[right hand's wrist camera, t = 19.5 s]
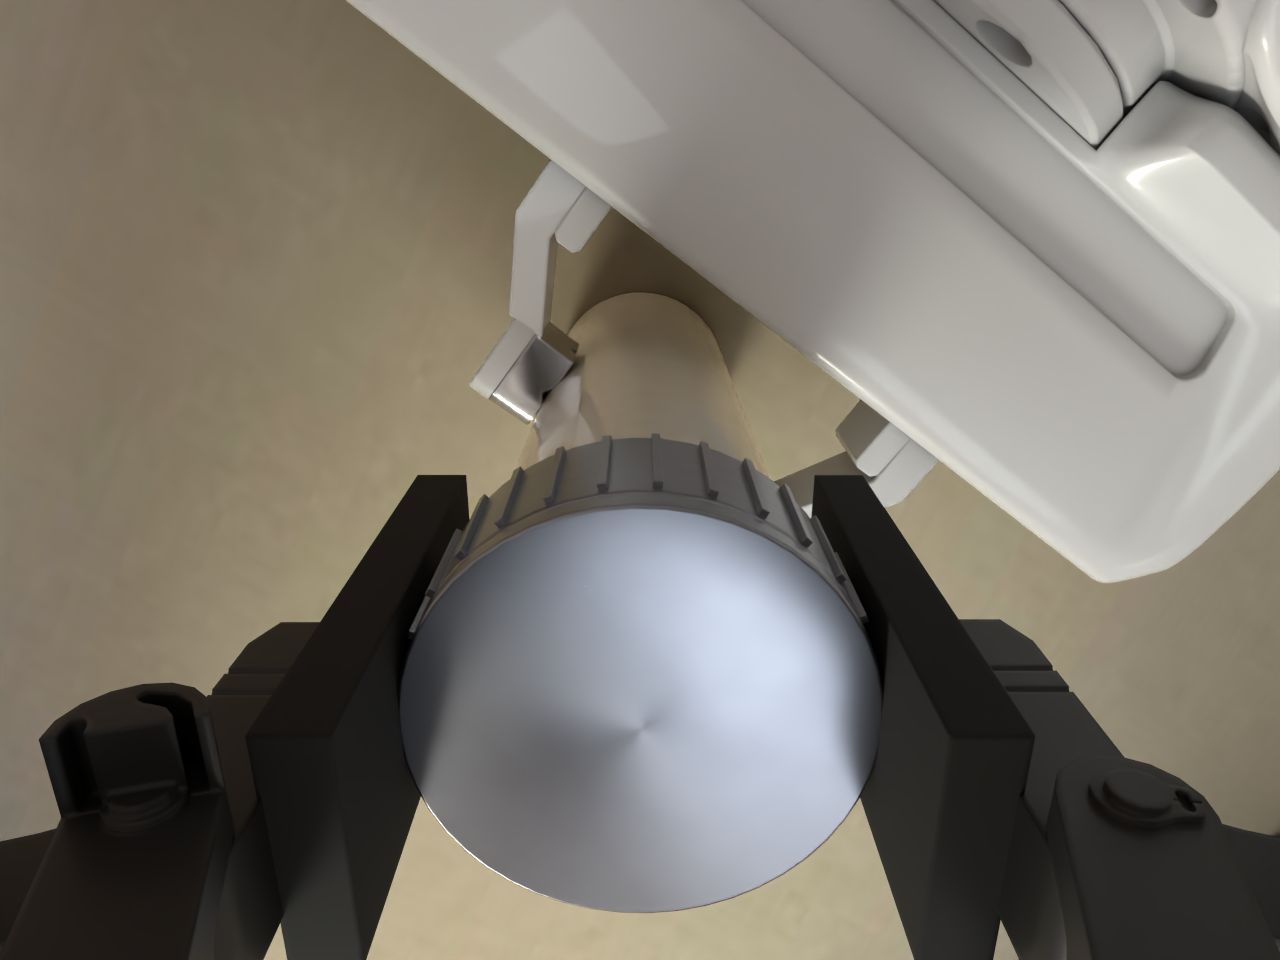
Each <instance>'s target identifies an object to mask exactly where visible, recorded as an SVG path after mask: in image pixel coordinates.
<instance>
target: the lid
mask: <svg viewBox="0 0 1280 960" xmlns="http://www.w3.org/2000/svg"><path fill="white" fill-rule="evenodd" d="M867 622H869V619H868V617H867V614H866V612H865V610H864V608H863V606H862V604H861V602H860V600H859V597H858V595H857V593H856V591H855V589H854V587H853V585H852V583H851V581H850V579H849V576H848V574H847V572H846V570H845V568H844V566H843V564H842V562H841V560H840V558H839V555H838V553H837V552H835V553H834V551H833V549H832V546H831V544H830V542H829V540H828V538H827V536H826V534H825V532H824V529H823V527H822V525H821V523H820V521H819V519H818V518H817V517H816V516H813V517H811V518H809V516H808V515H807V513H806V512H805V511H804V510H803V509H802V508H801V507H800V505H799V504H798V503H797V502H796V501H795V499H794V496H793V494H792V492H791V489H790V487H788V486H787V485H786V484H785V483H784V484H783V485H782V486H781V487H780V486H778V485H777V484H776V483H775V482H773V481H772V480H771V479H770V478H768V477H767V476H766V475H764V474H762V473H761V472H759V471H757V470H756V469H755V468H754V465H753V462H752V461H751V460H749V459H747V458H745V459H744V461H743V462H742V461H740V460H738V459H735V458H733V457H731V456H728V455H726V454H724V453H721V452H719V451H717V450H713V449H710V448H709V444H708V443H707V442H703V441H700V443H699V445H696V444H692V443H688V442H681V441H675V440H668V439H662V438H661V437H660V434H656V433H652V436H651V438H624V439H613V440H612V437H611V435H607V436H603V438H602V441H599V442H595V443H590V444H586V445H582V446H577V447H574V448H571V449H569V450H565V448H564V446H562V447H559V448H556V451H555V454H554V455H552V456H550V457H548V458H546V459H544V460H542V461H540V462H538V463H536V464H534V465H532V466H530V467H528V468H526V469H525V470H523V469H522V467H521V466H520V467H518V468H517V469H515V470H514V472H513V474H512V477H511V479H510V480H509V481H508V482H506V483H505V484H503V485H502V486H501V487H500V488H499V489H498V490H497V491H496V492H495V493H494V494H493V495H491V496H490V497H489V498H488V497H487V496H486V495H485V494H484V495H483V496H482V497H481V498H480V499H479V501H478V503H477V506H476V508H475V510H474V512H473V515H472V517H471V519H470V520H469V521H468V523H467V525H466V526H465V528H464V530H463V531H461V530H459V529H456V530H455V532H454V534H453V536H452V538H451V540H450V542H449V544H448V546H447V548H446V550H445V553H444V555H443V557H442V559H441V561H440V563H439V565H438V567H437V569H436V572H435V574H434V576H433V578H432V580H431V582H430V584H429V586H428V588H427V590H426V593H425V597H424V599H423V601H422V603H421V606H420V608H419V610H418V612H417V614H416V616H415V618H414V620H413V622H412V625H411V627H410V629H409V631H408V634H407V638H409V639H412V640H411V642H410V645H409V647H408V649H407V652H406V654H405V659H404V663H403V667H402V671H401V675H400V680H399V690H398V711H399V720H400V729H401V738H402V746H403V752H404V756H405V761H406V764H407V766H408V769H409V771H410V774H411V776H412V778H413V781H414V783H415V786H416V788H417V790H418V791H419V793H420V795H421V796H422V798H423V800H424V802H425V803H426V805H427V807H428V809H429V810H430V811H431V813H432V814H433V815H434V817H435V818H436V819H437V820H438V822H439V823H440V824H441V826H442V827H443V828H444V829H445V831H446V832H447V833H448V834H449V835H450V836H451V837H452V838H453V839H454V840H455V841H456V842H457V843H458V844H459V845H460V846H461V847H462V848H463V849H464V850H465V851H467V852H468V853H469V854H471V855H472V856H473V857H474V858H476V859H477V860H478V861H480V862H481V863H482V864H483V865H485V866H486V867H488V868H489V869H491V870H492V871H494V872H496V873H497V874H499V875H501V876H502V877H504V878H506V879H507V880H509V881H511V882H513V883H515V884H517V885H519V886H521V887H524V888H526V889H528V890H530V891H532V892H534V893H537V894H540V895H543V896H546V897H548V898H551V899H554V900H557V901H560V902H563V903H568V904H572V905H576V906H581V907H585V908H590V909H596V910H605V911H613V912H625V913H655V912H668V911H679V910H685V909H690V908H696V907H701V906H706V905H710V904H713V903H717V902H720V901H724V900H727V899H731V898H734V897H736V896H739V895H741V894H744V893H746V892H749V891H751V890H754V889H756V888H759V887H761V886H762V885H764V884H766V883H768V882H770V881H772V880H774V879H775V878H777V877H779V876H781V875H783V874H785V873H786V872H787V871H789V870H790V869H792V868H793V867H795V866H796V865H798V864H799V863H800V862H802V861H803V860H805V859H806V858H807V857H809V856H810V855H811V854H812V853H813V852H814V851H815V850H816V849H818V848H819V847H820V846H821V845H822V844H823V843H824V842H825V841H827V840H828V839H829V837H830V836H831V835H832V834H833V833H834V832H835V831H836V829H837V828H838V827H839V826H840V825H841V824H842V823H843V821H844V820H845V819H846V817H847V816H848V814H849V813H850V811H851V810H852V808H853V807H854V805H855V804H856V802H857V801H858V799H859V798H860V796H861V794H862V792H863V790H864V788H865V786H866V784H867V781H868V779H869V777H870V775H871V773H872V770H873V767H874V763H875V760H876V757H877V751H878V743H879V735H880V727H881V718H882V708H883V687H882V681H881V675H880V669H879V664H878V661H877V658H876V655H875V652H874V649H873V646H872V643H871V640H870V638H869V636H868V634H867V631H866V629H865V627H864V625H863V624H864V623H867Z"/></svg>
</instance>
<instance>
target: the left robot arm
mask: <svg viewBox="0 0 1280 960" xmlns="http://www.w3.org/2000/svg"><path fill="white" fill-rule="evenodd" d="M346 1H347V2H349V3H350V4H351V5H352V6H354V7H355V8H356V9H357V10H359V11H360V12H361V13H363V14H364V15H365V16H366V17H368V18H369V19H370V20H372V21H373V22H374V23H375V24H377V25H378V26H379V27H381V28H382V29H383V30H384V31H386V32H387V33H388V34H390V35H391V36H392V37H394V38H395V39H396V40H397V41H399V42H400V43H401V44H403V45H404V46H405V47H406V48H408V49H409V50H410V51H412V52H413V53H414V54H415V55H417V56H418V57H419V58H421V59H422V60H423V61H424V62H426V63H427V64H428V65H430V66H431V67H432V68H434V69H435V70H436V71H437V72H439V73H440V74H441V75H443V76H444V77H445V78H446V79H448V80H449V81H450V82H452V83H453V84H454V85H455V86H457V87H458V88H459V89H461V90H462V91H463V92H465V93H466V94H467V95H468V96H470V97H471V98H472V99H474V100H475V101H476V102H477V103H479V104H480V105H481V106H483V107H484V108H485V109H486V110H488V111H489V112H490V113H492V114H493V115H494V116H496V117H497V118H498V119H499V120H501V121H502V122H503V123H505V124H506V125H507V126H508V127H510V128H511V129H512V130H514V131H515V132H516V133H517V134H519V135H520V136H521V137H523V138H524V139H525V140H527V141H528V142H529V143H530V144H532V145H533V146H534V147H536V148H537V149H538V150H539V151H541V152H542V153H543V154H545V155H546V156H547V157H548V158H550V159H551V160H550V161H549V163H548V164H547V166H546V167H545V169H544V170H543V172H542V173H541V175H540V176H539V178H538V179H537V181H536V182H535V184H534V185H533V187H532V188H531V189H530V191H529V192H528V194H527V195H526V197H525V198H524V200H523V201H522V203H521V204H520V206H519V207H518V209H517V210H516V212H515V228H514V244H513V260H512V275H511V291H510V307H509V315H510V316H512V317H513V318H514V319H513V321H512V322H511V324H510V325H509V327H508V328H507V329H506V331H505V332H504V334H503V335H502V337H501V338H500V339H499V341H498V342H497V344H496V345H495V347H494V348H493V349H492V351H491V352H490V354H489V355H488V357H487V358H486V359H485V361H484V362H483V364H482V365H481V367H480V368H479V370H478V371H477V372H476V374H475V375H474V377H473V378H472V380H471V381H470V383H469V386H471V387H472V388H473V389H474V390H476V391H477V392H478V393H480V394H481V395H482V396H483V397H485V398H486V399H489V400H491V401H492V402H494V403H495V404H497V405H498V406H500V407H501V408H503V409H504V410H506V411H507V412H509V413H510V414H512V415H513V416H515V417H516V418H518V419H519V420H521V421H522V422H524V423H525V424H529V422H530V421H531V420H532V419H533V418H534V416H535V415H536V414H537V412H538V411H539V409H540V407H541V405H542V403H543V401H544V398H545V395H546V391H549V390H552V389H554V388H555V387H556V386H557V385H558V384H559V383H560V381H561V380H562V378H563V377H564V376H565V374H566V373H567V372H568V370H569V369H570V367H571V366H572V365H573V363H574V361H575V358H576V355H575V354H576V352H577V351H578V347H579V344H578V343H577V342H576V341H574V340H573V339H572V338H570V337H569V336H568V335H567V334H565V333H564V332H563V331H561V330H560V329H559V328H557V327H556V326H555V325H553V324H552V323H551V322H550V318H551V308H552V297H553V287H554V276H555V266H556V256H557V245H558V243H559V244H561V245H562V246H563V247H565V248H566V249H568V250H569V251H570V252H572V253H573V252H578V251H580V250H581V249H582V247H583V246H584V245H585V243H586V242H587V241H588V239H589V238H590V236H591V235H592V234H593V232H594V231H595V230H596V228H597V227H598V225H599V224H600V223H601V221H602V220H603V219H604V217H605V216H606V215H607V213H608V212H609V210H610V209H611V208H612V207H613V208H614V209H616V210H617V211H618V212H619V213H621V214H622V215H623V216H625V217H626V218H627V219H629V220H630V221H631V222H632V223H634V224H635V225H636V226H638V227H639V228H640V229H641V230H643V231H644V232H645V233H647V234H648V235H649V236H650V237H652V238H653V239H654V240H656V241H657V242H658V243H660V244H661V245H662V246H663V247H665V248H666V249H667V250H669V251H670V252H671V253H672V254H674V255H675V256H676V257H678V258H679V259H680V260H681V261H683V262H684V263H685V264H687V265H688V266H689V267H691V268H692V269H693V270H694V271H696V272H697V273H698V274H700V275H701V276H702V277H703V278H705V279H706V280H707V281H709V282H710V283H711V284H712V285H714V286H715V287H716V288H718V289H719V290H720V291H722V292H723V293H724V294H725V295H727V296H728V297H729V298H731V299H732V300H733V301H734V302H736V303H737V304H738V305H740V306H741V307H742V308H743V309H745V310H746V311H747V312H749V313H750V314H751V315H752V316H754V317H755V318H756V319H758V320H759V321H760V322H762V323H763V324H764V325H765V326H767V327H768V328H769V329H771V330H772V331H773V332H774V333H776V334H777V335H778V336H780V337H781V338H782V339H783V340H785V341H786V342H787V343H789V344H790V345H791V346H793V347H794V348H795V349H796V350H798V351H799V352H800V353H802V354H803V355H804V356H805V357H807V358H808V359H809V360H811V361H812V362H813V363H814V364H816V365H817V366H818V367H820V368H821V369H822V370H824V371H825V372H826V373H827V374H829V375H830V376H831V377H833V378H834V379H835V380H836V381H838V382H839V383H840V384H842V385H843V386H844V387H845V388H847V389H848V390H849V391H851V392H852V393H853V394H855V395H856V396H857V397H858V398H860V399H861V400H860V401H859V402H858V404H857V405H856V406H855V407H854V408H853V409H852V411H851V412H850V413H849V414H848V415H847V417H846V418H845V419H844V420H843V421H842V423H841V424H840V425H839V426H838V427H837V429H836V436H837V438H838V439H839V441H840V442H841V444H842V445H843V447H844V448H845V450H846V451H845V452H843V453H841V454H838V455H836V456H834V457H831V458H829V459H826V460H824V461H822V462H819V463H817V464H815V465H812V466H810V467H808V468H805V469H803V470H800V471H798V472H796V473H793V474H791V475H789V476H786V477H784V478H782V479H779V480H777V481H774V482H775V483H776V484H777V485H778V486H780V487H781V486H782V485H783V484H784V483H785V484H786V485H787V486H788V487H790V489H791V492H792V494H793V496H794V499H795V501H796V502H797V503H798V504H799V505H800V507H801V508H802V509H803V510H804V511H805V512H806V513H807V515H808V516H809V518H811V515H812V502H813V488H814V475H863V476H864V478H865V479H866V481H867V482H868V484H869V485H870V487H871V488H872V490H873V491H874V493H875V494H876V496H877V497H878V499H879V500H880V502H881V504H882V505H883V507H884V508H886V507H889V506H891V505H894V504H897V503H900V502H902V500H903V499H904V498H905V497H906V496H907V495H908V494H909V493H910V492H911V491H912V490H913V489H914V488H915V487H916V485H917V484H918V483H919V482H920V481H921V480H922V479H923V478H924V477H925V476H926V475H927V474H928V473H929V471H930V470H931V469H932V468H933V467H934V466H935V465H936V464H937V463H938V462H939V461H941V462H942V463H944V464H945V465H946V466H947V467H949V468H950V469H951V470H953V471H954V472H955V473H957V474H958V475H959V476H960V477H962V478H963V479H964V480H966V481H967V482H968V483H969V484H971V485H972V486H973V487H975V488H976V489H977V490H978V491H980V492H981V493H982V494H984V495H985V496H986V497H988V498H989V499H990V500H991V501H993V502H994V503H995V504H997V505H998V506H999V507H1000V508H1002V509H1003V510H1004V511H1006V512H1007V513H1008V514H1009V515H1011V516H1012V517H1013V518H1015V519H1016V520H1017V521H1019V522H1020V523H1021V524H1022V525H1024V526H1025V527H1026V528H1028V529H1029V530H1030V531H1031V532H1033V533H1034V534H1035V535H1037V536H1038V537H1039V538H1040V539H1042V540H1043V541H1044V542H1046V543H1047V544H1048V545H1050V546H1051V547H1052V548H1053V549H1055V550H1056V551H1057V552H1059V553H1060V554H1061V555H1062V556H1064V557H1065V558H1066V559H1068V560H1069V561H1070V562H1072V563H1073V564H1074V565H1075V566H1077V567H1078V568H1079V569H1081V570H1082V571H1083V572H1085V573H1086V574H1087V575H1088V576H1090V577H1091V578H1092V579H1094V580H1096V581H1098V582H1101V583H1112V582H1119V581H1124V580H1128V579H1133V578H1137V577H1141V576H1145V575H1149V574H1153V573H1157V572H1161V571H1164V570H1166V569H1168V568H1170V567H1172V566H1174V565H1175V564H1177V563H1179V562H1180V561H1181V560H1183V559H1184V558H1185V557H1187V556H1188V555H1189V554H1190V553H1192V552H1193V551H1194V550H1195V549H1197V548H1198V547H1199V546H1200V545H1201V544H1203V543H1204V542H1205V541H1206V540H1207V539H1208V538H1209V537H1210V536H1211V535H1213V534H1214V533H1215V532H1216V531H1217V530H1218V529H1219V528H1220V527H1221V526H1222V525H1223V524H1224V523H1226V522H1227V521H1228V520H1229V519H1230V518H1231V517H1232V516H1233V515H1234V514H1235V513H1236V512H1237V511H1239V510H1240V509H1241V508H1242V507H1243V506H1244V505H1245V504H1246V503H1247V502H1248V501H1249V500H1250V499H1251V498H1252V497H1253V496H1254V495H1255V494H1256V493H1257V492H1258V491H1259V490H1260V489H1261V488H1262V487H1263V486H1264V485H1265V484H1266V483H1267V482H1268V481H1269V480H1270V479H1271V478H1272V477H1273V476H1274V475H1275V474H1276V473H1277V472H1278V471H1279V470H1280V0H346Z"/></svg>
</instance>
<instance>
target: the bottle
mask: <svg viewBox="0 0 1280 960" xmlns="http://www.w3.org/2000/svg"><path fill="white" fill-rule="evenodd" d="M568 336H569V337H570V338H572V339H573V340H574V341H576V342H577V343H578V344H579V347H578V351H577V352H576V354H575V355H576V358H575V361H574V363H573V365H572V366H571V367H570V369H569V370H568V372H567V373H566V374H565V376H564V377H563V378H562V380H561V381H560V383H559V384H558V385H557V386H556V387H555V388H554V389H552V390H549V391H546V395H545V398H544V401H543V403H542V405H541V407H540V409H539V411H538V412H537V414H536V416H535V419H534V422H533V424H532V427H531V429H530V432H529V435H528V437H527V440H526V443H525V445H524V448H523V450H522V453H521V456H520V458H519V461H518V464H517V466H516V469H517V468H518V467H520V466H521V467H522V469H523V470H525V469H526V468H528V467H530V466H532V465H534V464H536V463H538V462H540V461H542V460H544V459H546V458H548V457H550V456H552V455H554V454H555V451H556V448H559V447H562V446H564V448H565V450H569V449H571V448H574V447H577V446H582V445H586V444H590V443H595V442H599V441H602V438H603V436H607V435H611V437H612V440H613V439H624V438H651V436H652V433H656V434H660V437H661V438H662V439H668V440H675V441H681V442H688V443H692V444H696V445H699V443H700V441H703V442H707V443H708V444H709V448H710V449H713V450H717V451H719V452H721V453H724V454H726V455H728V456H731V457H733V458H735V459H738V460H740V461H742V462H743V461H744V459H745V458H747V459H749V460H751V461H752V462H753V465H754V468H755V469H756V470H757V471H759V472H761V473H762V474H764V475H766V476H767V477H768V474H767V471H766V469H765V466H764V464H763V461H762V458H761V456H760V453H759V450H758V448H757V445H756V443H755V440H754V437H753V435H752V432H751V429H750V427H749V424H748V422H747V419H746V416H745V414H744V411H743V408H742V406H741V403H740V401H739V398H738V395H737V393H736V390H735V388H734V385H733V382H732V380H731V377H730V374H729V372H728V369H727V367H726V364H725V361H724V359H723V356H722V353H721V351H720V348H719V346H718V343H717V341H716V339H715V337H714V335H713V333H712V332H711V330H710V328H709V327H708V326H707V324H706V323H705V322H704V321H703V319H701V318H700V317H699V316H698V315H697V314H696V313H695V312H694V311H693V310H691V309H690V308H689V307H687V306H686V305H684V304H682V303H680V302H679V301H677V300H674V299H672V298H669V297H667V296H663V295H659V294H654V293H645V292H639V293H627V294H621V295H618V296H615V297H611V298H609V299H607V300H604V301H602V302H600V303H599V304H597V305H595V306H594V307H592V308H591V309H589V310H588V311H587V312H586V313H585V314H583V315H582V316H581V317H580V318H579V320H578V321H577V322H576V323H575V324H574V325H573V327H572V328H571V330H570V331H569V333H568ZM768 478H769V477H768Z"/></svg>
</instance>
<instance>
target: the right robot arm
mask: <svg viewBox="0 0 1280 960" xmlns="http://www.w3.org/2000/svg"><path fill="white" fill-rule="evenodd" d="M813 516H816V517H817V518H818V519H819V521H820V523H821V525H822V527H823V529H824V532H825V534H826V536H827V538H828V540H829V542H830V544H831V546H832V549H833V551H834V553H835V552H837V553H838V555H839V558H840V560H841V562H842V564H843V566H844V568H845V570H846V572H847V574H848V576H849V579H850V581H851V583H852V585H853V587H854V589H855V591H856V593H857V595H858V597H859V600H860V602H861V604H862V606H863V608H864V610H865V612H866V614H867V617H868V619H869V622H867V623H864V624H863V625H864V627H865V629H866V631H867V634H868V636H869V638H870V640H871V643H872V646H873V649H874V652H875V655H876V658H877V661H878V664H879V669H880V675H881V681H882V687H883V708H882V718H881V727H880V735H879V743H878V751H877V757H876V760H875V763H874V767H873V770H872V773H871V775H870V777H869V779H868V781H867V784H866V786H865V788H864V790H863V792H862V794H861V796H860V798H861V801H862V804H863V807H864V810H865V813H866V816H867V819H868V822H869V825H870V828H871V831H872V834H873V837H874V840H875V843H876V846H877V849H878V852H879V855H880V858H881V861H882V864H883V867H884V870H885V873H886V876H887V879H888V882H889V885H890V888H891V891H892V894H893V897H894V900H895V903H896V906H897V909H898V912H899V915H900V918H901V921H902V924H903V927H904V930H905V933H906V936H907V939H908V942H909V945H910V948H911V951H912V954H913V957H914V960H993V957H994V952H995V946H996V941H997V936H998V931H999V925H1000V920H1001V921H1002V923H1003V925H1004V927H1005V929H1006V932H1007V934H1008V936H1009V938H1010V940H1011V942H1012V945H1013V947H1014V949H1015V951H1016V953H1017V955H1018V958H1019V960H1280V838H1279V837H1274V836H1270V835H1265V834H1260V833H1256V832H1251V831H1246V830H1242V829H1238V828H1235V827H1231V826H1228V825H1224V824H1222V823H1221V821H1220V818H1219V816H1218V815H1217V814H1216V812H1215V811H1214V810H1213V808H1212V807H1211V806H1210V804H1209V803H1208V802H1207V800H1206V799H1205V798H1204V796H1202V795H1201V794H1200V793H1198V792H1197V791H1196V790H1194V789H1193V788H1192V787H1190V786H1189V785H1188V784H1186V783H1185V782H1184V781H1182V780H1181V779H1180V778H1178V777H1176V776H1174V775H1171V774H1169V773H1167V772H1165V771H1163V770H1161V769H1159V768H1157V767H1154V766H1152V765H1150V764H1146V763H1143V762H1139V761H1135V760H1131V759H1127V758H1124V756H1123V755H1122V754H1121V752H1120V751H1119V750H1118V749H1117V747H1116V746H1115V745H1114V744H1113V742H1112V741H1111V740H1110V738H1109V737H1108V736H1107V735H1106V733H1105V732H1104V731H1103V730H1102V728H1101V727H1100V726H1099V724H1098V723H1097V722H1096V721H1095V719H1094V718H1093V717H1092V716H1091V714H1090V713H1089V712H1088V710H1087V709H1086V708H1085V707H1084V705H1083V704H1082V703H1081V701H1080V700H1079V699H1078V698H1077V696H1076V695H1075V694H1074V693H1073V692H1069V686H1068V685H1067V684H1066V682H1065V681H1064V680H1063V679H1062V677H1061V676H1060V675H1059V673H1058V672H1057V671H1053V668H1052V665H1051V663H1050V662H1049V661H1048V659H1047V658H1046V657H1045V656H1044V654H1043V653H1042V652H1041V650H1040V649H1039V648H1038V647H1037V645H1036V644H1035V643H1034V642H1033V641H1032V640H1031V639H1029V638H1028V637H1026V636H1025V635H1023V634H1022V633H1020V632H1018V631H1017V630H1015V629H1014V628H1012V627H1011V626H1009V625H1008V624H1006V623H1005V622H1003V621H1001V620H958V618H957V617H956V615H955V614H954V612H953V610H952V609H951V607H950V606H949V604H948V603H947V601H946V600H945V598H944V597H943V595H942V594H941V592H940V591H939V589H938V588H937V586H936V585H935V583H934V582H933V580H932V579H931V577H930V576H929V574H928V573H927V571H926V570H925V568H924V567H923V565H922V564H921V562H920V561H919V559H918V558H917V556H916V555H915V553H914V552H913V550H912V549H911V547H910V546H909V544H908V543H907V541H906V540H905V538H904V537H903V535H902V534H901V532H900V531H899V529H898V528H897V526H896V525H895V523H894V522H893V520H892V519H891V517H890V516H889V514H888V513H887V511H886V510H885V508H884V507H883V505H882V504H881V502H880V500H879V499H878V497H877V496H876V494H875V493H874V491H873V490H872V488H871V487H870V485H869V484H868V482H867V481H866V479H865V478H864V476H863V475H814V488H813V502H812V515H811V517H813ZM468 521H469V509H468V495H467V482H466V475H418V476H417V477H416V479H415V480H414V482H413V483H412V485H411V486H410V488H409V489H408V491H407V492H406V494H405V495H404V497H403V498H402V500H401V501H400V503H399V504H398V506H397V507H396V509H395V510H394V512H393V513H392V515H391V516H390V518H389V519H388V521H387V522H386V524H385V525H384V527H383V528H382V530H381V531H380V533H379V534H378V536H377V537H376V539H375V540H374V542H373V543H372V545H371V546H370V548H369V550H368V551H367V553H366V554H365V556H364V557H363V559H362V560H361V562H360V563H359V565H358V566H357V568H356V569H355V571H354V572H353V574H352V575H351V577H350V578H349V580H348V581H347V583H346V584H345V586H344V587H343V589H342V590H341V592H340V593H339V595H338V596H337V598H336V599H335V601H334V602H333V604H332V605H331V607H330V608H329V610H328V611H327V613H326V614H325V616H324V617H323V619H322V620H321V622H281V623H279V624H278V625H276V626H275V627H273V628H272V629H270V630H269V631H267V632H265V633H264V634H262V635H261V636H259V637H258V638H256V639H255V640H253V641H252V642H250V643H249V644H248V645H247V646H246V647H245V648H244V650H243V651H242V652H241V654H240V655H239V656H238V657H237V659H236V660H235V661H234V663H233V664H232V665H231V666H230V668H229V672H228V674H224V675H223V677H222V678H221V679H220V681H219V682H218V683H217V684H216V686H215V687H214V688H213V690H212V695H208V696H207V697H206V696H204V695H203V694H202V693H201V692H199V691H198V690H197V689H196V688H194V687H189V686H185V685H180V684H176V683H155V684H141V685H137V686H133V687H128V688H124V689H120V690H115V691H111V692H109V693H106V694H104V695H102V696H99V697H97V698H94V699H92V700H89V701H87V702H85V703H82V704H80V705H79V706H77V707H75V708H74V709H72V710H71V711H69V712H68V713H66V714H65V715H63V716H62V717H60V718H59V719H57V720H55V721H54V723H53V724H52V725H51V726H50V727H49V728H48V729H47V731H46V732H45V733H44V734H43V735H42V736H41V737H40V739H39V742H40V745H41V749H42V752H43V756H44V759H45V763H46V766H47V769H48V773H49V776H50V780H51V783H52V787H53V790H54V794H55V797H56V801H57V804H58V808H59V811H60V814H61V820H60V822H59V825H58V827H57V828H56V829H53V830H49V831H46V832H42V833H38V834H34V835H29V836H24V837H20V838H15V839H10V840H6V841H1V842H0V960H263V959H264V957H265V955H266V953H267V950H268V948H269V946H270V944H271V942H272V940H273V937H274V935H275V933H276V931H277V929H278V927H279V924H280V923H281V928H282V933H283V938H284V944H285V949H286V954H287V960H366V958H367V955H368V952H369V949H370V946H371V943H372V940H373V937H374V934H375V931H376V928H377V925H378V923H379V920H380V917H381V914H382V911H383V908H384V905H385V902H386V899H387V896H388V893H389V890H390V887H391V884H392V881H393V878H394V875H395V872H396V869H397V866H398V863H399V860H400V857H401V854H402V851H403V848H404V845H405V842H406V839H407V836H408V833H409V830H410V827H411V824H412V821H413V818H414V815H415V812H416V809H417V806H418V803H419V800H420V797H421V795H420V793H419V791H418V790H417V788H416V786H415V783H414V781H413V778H412V776H411V774H410V771H409V769H408V766H407V764H406V761H405V756H404V752H403V746H402V738H401V729H400V720H399V711H398V690H399V680H400V675H401V671H402V667H403V663H404V659H405V654H406V652H407V649H408V647H409V645H410V642H411V640H412V639H409V638H407V634H408V631H409V629H410V627H411V625H412V622H413V620H414V618H415V616H416V614H417V612H418V610H419V608H420V606H421V603H422V601H423V599H424V597H425V593H426V590H427V588H428V586H429V584H430V582H431V580H432V578H433V576H434V574H435V572H436V569H437V567H438V565H439V563H440V561H441V559H442V557H443V555H444V553H445V550H446V548H447V546H448V544H449V542H450V540H451V538H452V536H453V534H454V532H455V530H456V529H459V530H461V531H463V530H464V528H465V526H466V525H467V523H468Z"/></svg>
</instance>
